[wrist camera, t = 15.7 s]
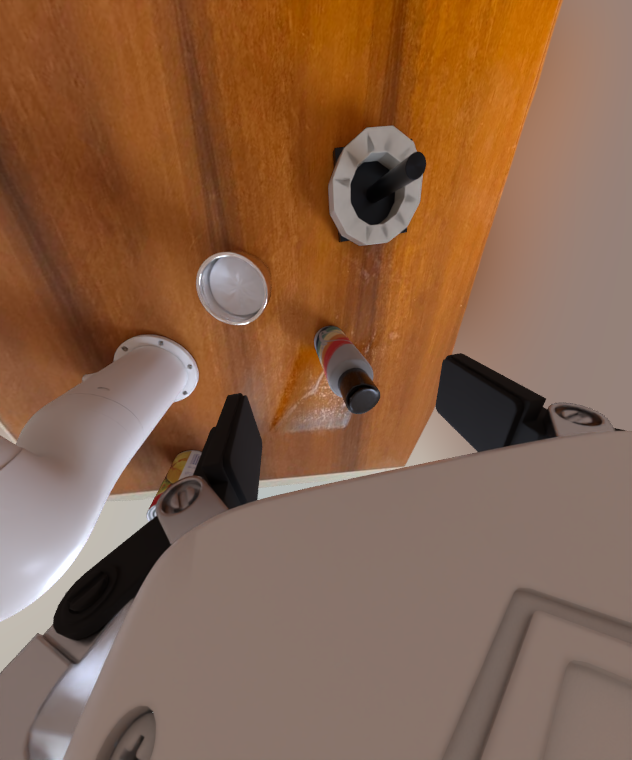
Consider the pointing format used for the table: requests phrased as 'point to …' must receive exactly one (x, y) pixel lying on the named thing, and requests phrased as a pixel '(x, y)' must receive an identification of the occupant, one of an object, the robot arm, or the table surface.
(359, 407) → the lotion bottle
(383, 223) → the tape roll
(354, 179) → the post
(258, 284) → the beer glass
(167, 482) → the canned food
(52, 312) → the table surface
